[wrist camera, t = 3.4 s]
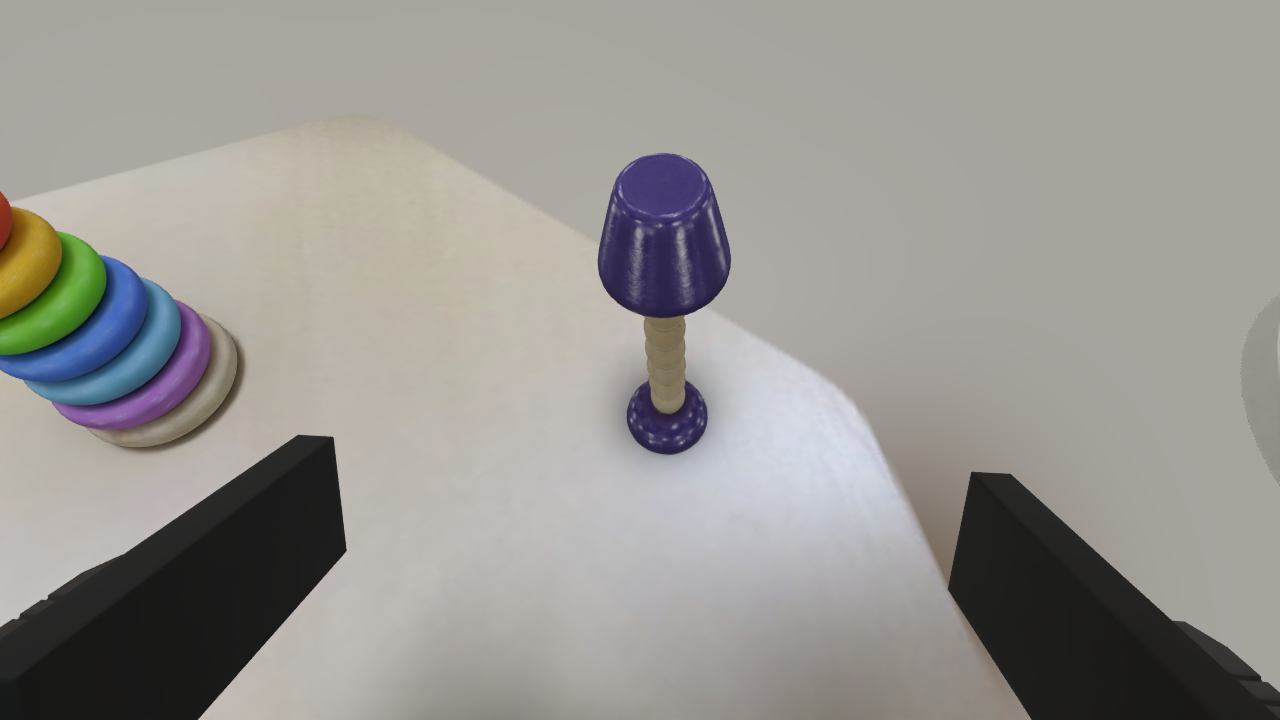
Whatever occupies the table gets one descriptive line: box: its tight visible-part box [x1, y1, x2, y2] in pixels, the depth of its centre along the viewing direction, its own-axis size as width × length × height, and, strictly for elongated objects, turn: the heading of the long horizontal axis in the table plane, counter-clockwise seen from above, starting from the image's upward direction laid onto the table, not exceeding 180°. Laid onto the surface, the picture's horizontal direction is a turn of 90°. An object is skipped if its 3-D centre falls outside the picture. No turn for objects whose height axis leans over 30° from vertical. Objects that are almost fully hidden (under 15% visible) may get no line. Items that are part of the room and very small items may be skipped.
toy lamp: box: [598, 153, 731, 454], centre depth 26 cm, size 5×5×17 cm
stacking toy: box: [0, 192, 237, 447], centre depth 27 cm, size 8×8×19 cm
